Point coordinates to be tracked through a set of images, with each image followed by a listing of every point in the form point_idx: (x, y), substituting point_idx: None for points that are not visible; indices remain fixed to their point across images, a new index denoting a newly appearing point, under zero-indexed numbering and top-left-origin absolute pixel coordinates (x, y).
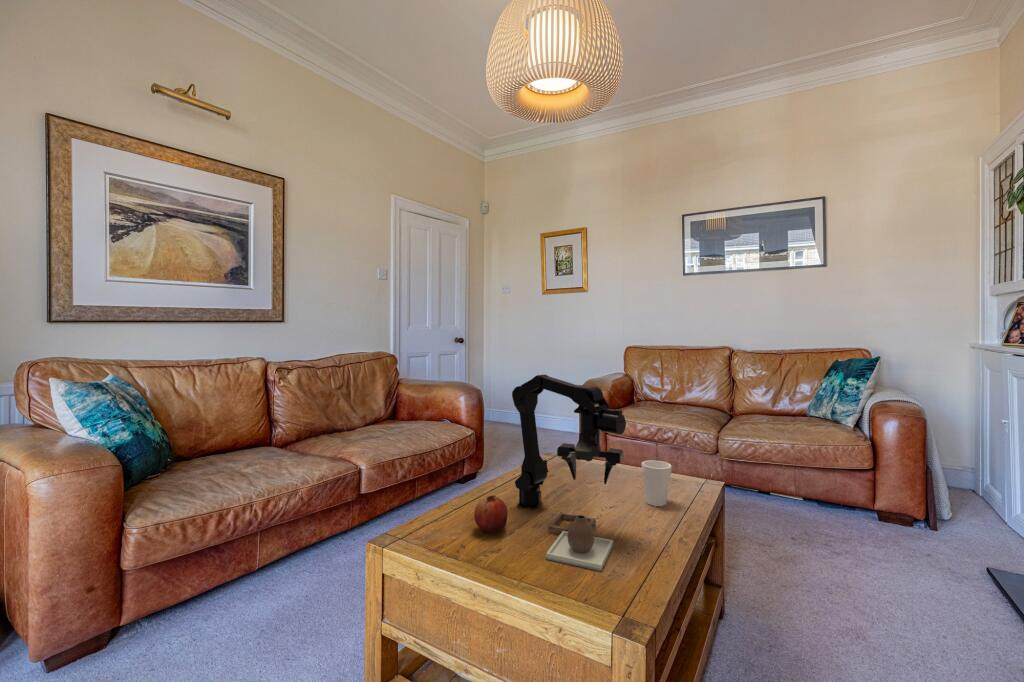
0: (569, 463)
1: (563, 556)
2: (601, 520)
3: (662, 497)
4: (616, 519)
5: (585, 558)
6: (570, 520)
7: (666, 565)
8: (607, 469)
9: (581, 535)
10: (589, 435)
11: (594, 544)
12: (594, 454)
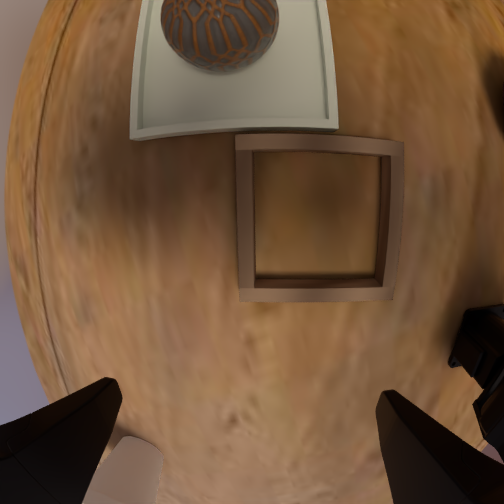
0: (499, 482)
1: None
2: (231, 328)
3: (112, 450)
4: (187, 351)
5: None
6: (344, 279)
7: (25, 123)
8: (4, 439)
9: None
10: None
11: (193, 98)
12: None
